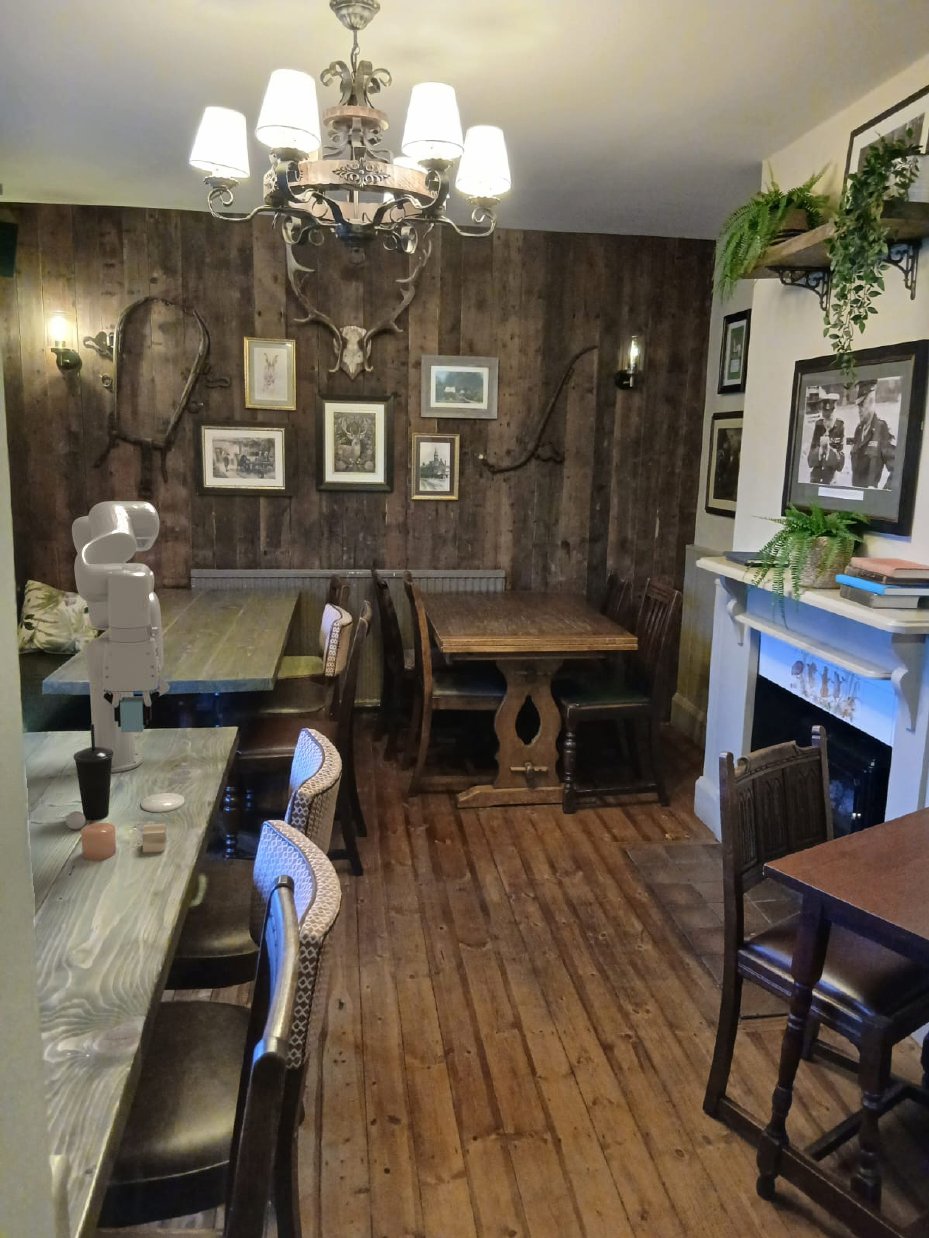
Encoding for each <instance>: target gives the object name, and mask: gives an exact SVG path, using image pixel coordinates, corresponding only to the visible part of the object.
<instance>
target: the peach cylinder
mask: <svg viewBox="0 0 929 1238" xmlns="http://www.w3.org/2000/svg"><path fill="white" fill-rule="evenodd" d="M116 838H117V837H116V825H114V824H112V823H110V822H95V823H91V824H88V825H86V826H84V827H83V828H81V830H80V839H81V840H80V842H81V857H82V858H83V859H84V860H86V861H91V862H95V861H96V862H97V861H103V860H107V859H110V858H112V857H113V856H115V855H116V853H117V841H116V840H117V839H116Z"/></svg>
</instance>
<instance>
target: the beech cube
mask: <svg viewBox="0 0 929 1238" xmlns="http://www.w3.org/2000/svg"><path fill="white" fill-rule="evenodd" d="M141 834H142V853H155V852H156V853H157V852H165V851H166V847H167V823H155V824H154V823H152V824H144V826H143V830H142V833H141Z"/></svg>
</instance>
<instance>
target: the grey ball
mask: <svg viewBox="0 0 929 1238" xmlns="http://www.w3.org/2000/svg"><path fill="white" fill-rule="evenodd" d="M65 823H66V824H65V825H66V826H67V828H70V829H71V830H79V829H82V827H83V826H84V825H85V823H86V819H85V816H84V814H83V812H81V811H78V810H75V811H71V812H70V813H68V815H67V816H66V819H65Z"/></svg>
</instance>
